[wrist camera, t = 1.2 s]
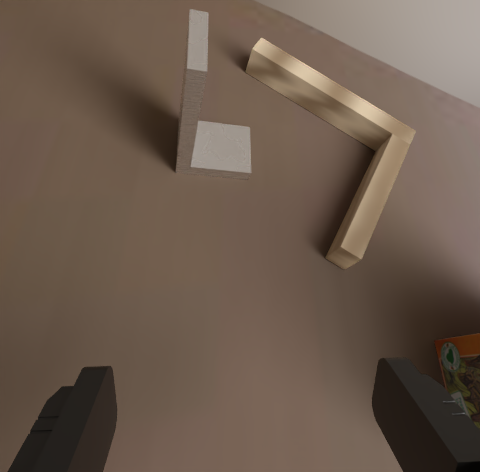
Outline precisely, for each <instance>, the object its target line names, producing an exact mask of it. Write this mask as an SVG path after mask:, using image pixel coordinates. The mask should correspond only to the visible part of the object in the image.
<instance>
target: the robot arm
mask: <svg viewBox="0 0 480 472" xmlns="http://www.w3.org/2000/svg"><path fill="white" fill-rule="evenodd" d="M372 408H373V413H374V416H375V419H376V421H377V423H378V425H379V427H380V429H381V431H382V433H383V434H384V436H385V438H386V440H387V442H388V444H389V446H390V448H391V449H392V451H393V453H394V455H395V457H396V459H397V461H398V463H399V465H400V466H401V468H402V470H403V472H480V430H479V428H478V427H477V426H476V425H475V424H474V422H473V421H472V420H471V419H470V418H469V416H468V415H465V412H464V410H463V409H462V408H461V407H460V406H459V404H458V403H455V400H454V398H453V397H452V396H451V395H450V394H449V392H448V391H447V390H446V389H445V388H444V386H442V385H441V384H440V383H438V382H437V381H435V380H434V379H432V378H431V377H430V376H428V375H427V374H420V372H419V371H418V370H417V369H416V367H415V366H414V365H413V364H412V362H411V361H410V360H409V359H408V358H406V357H400V358H381V359H380V360H379V362H378V366H377V372H376V378H375V384H374V390H373V396H372ZM116 421H117V404H116V394H115V385H114V376H113V370H112V367H111V366H98V367H84V368H83V369H82V370H81V372H80V374H79V376H78V378H77V380H76V383H75V385H74V386H65V387H61V388H60V389H59V390H58V391H57V392H56V393H55V394H54V395H53V396H52V397H51V398H49V399H48V400H47V402H46V404H45V405H44V407H43V409H42V411H41V413H40V414H39V416H38V420H36V422H35V423H34V425H33V427H32V429H31V431H30V434H28V436H27V438H26V440H25V441H24V443H23V445H22V447H21V449H20V450H19V452H18V454H17V456H16V458H15V459H14V461H13V463H12V465H11V467H10V468H9V470H8V472H103V470H104V466H105V463H106V460H107V456H108V453H109V449H110V446H111V443H112V439H113V436H114V432H115V428H116Z"/></svg>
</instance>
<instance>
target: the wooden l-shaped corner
mask: <svg viewBox="0 0 480 472" xmlns="http://www.w3.org/2000/svg"><path fill="white" fill-rule="evenodd" d="M245 72H246V73H247V74H249V75H251V76H252V77H254V78H256V79H257V80H259V81H260V82H262V83H264V84H265V85H267V86H269V87H270V88H272V89H274V90H275V91H277V92H279V93H280V94H282V95H284V96H285V97H287V98H289V99H290V100H292V101H293V102H295V103H297V104H298V105H300V106H302V107H303V108H305V109H307V110H308V111H310V112H312V113H313V114H315V115H317V116H318V117H320V118H322V119H323V120H325V121H326V122H328V123H330V124H331V125H333V126H335V127H336V128H338V129H340V130H341V131H343V132H345V133H346V134H348V135H350V136H351V137H353V138H355V139H356V140H358V141H359V142H361V143H363V144H364V145H366V146H368V147H369V148H371V149H373V150H374V151H376V152H375V154H374V156H373V158H372V160H371V163H370V165H369V167H368V169H367V171H366V173H365V175H364V177H363V179H362V182H361V184H360V186H359V188H358V190H357V192H356V194H355V196H354V198H353V200H352V203H351V205H350V207H349V209H348V211H347V213H346V215H345V217H344V219H343V221H342V224H341V226H340V228H339V230H338V232H337V234H336V236H335V238H334V240H333V243H332V245H331V247H330V249H329V251H328V253H327V255H326V257H325V258H326V259H327V260H329V261H331V262H332V263H334V264H335V265H337V266H339V267H340V268H342V269H344V270H345V269H347V268H348V267H350V266H352V265H353V264H355V263H357V262H358V261H360V260H362V257H363V255H364V253H365V250H366V248H367V246H368V243H369V241H370V238H371V236H372V234H373V231H374V229H375V227H376V224H377V222H378V219H379V217H380V215H381V212H382V210H383V208H384V205H385V203H386V201H387V198H388V196H389V193H390V191H391V189H392V186H393V184H394V182H395V179H396V177H397V175H398V172H399V170H400V167H401V165H402V163H403V160H404V158H405V156H406V153H407V151H408V149H409V146H410V144H411V141H412V139H413V137H414V134H415V132H416V131H415V130H413V129H412V128H410V127H408V126H407V125H405V124H403V123H402V122H400V121H398V120H397V119H395V118H393V117H392V116H390V115H388V114H387V113H385V112H384V111H382V110H380V109H379V108H377V107H375V106H374V105H372V104H370V103H369V102H367V101H365V100H364V99H362V98H360V97H359V96H357V95H355V94H354V93H352V92H350V91H349V90H347V89H345V88H344V87H342V86H341V85H339V84H337V83H336V82H334V81H332V80H331V79H329V78H327V77H326V76H324V75H322V74H321V73H319V72H317V71H316V70H314V69H312V68H311V67H309V66H307V65H306V64H304V63H303V62H301V61H299V60H298V59H296V58H294V57H293V56H291V55H289V54H288V53H286V52H284V51H283V50H281V49H279V48H278V47H276V46H274V45H273V44H271V43H269V42H268V41H266V40H264V39H263V38H261V39H260V40H259V41H258V42H257V44H256V45H255V46H254V47H253V49H252V51H251V55H250V58H249V61H248V65H247V68H246V71H245Z"/></svg>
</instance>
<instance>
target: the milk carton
mask: <svg viewBox="0 0 480 472" xmlns="http://www.w3.org/2000/svg"><path fill="white" fill-rule="evenodd" d="M434 342H435V346H436V350H437V355H438V359H439V364H440V368H441V372H442V377H443V381H444V386H445V389H446V390H447V391H448V392H449V394H450V395H451V396H452V397H453V398H454V400H455V403H458V404H459V406H460V407H461V408H462V409H463V410H464V412H465V415H468V416H469V418H470V419H471V420H472V421H473V422H474V424H475V425H476V426H477V427H478V428H479V430H480V333H477V334H471V335H465V336H458V337H452V338H446V339H439V340H434Z"/></svg>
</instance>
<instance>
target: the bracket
mask: <svg viewBox="0 0 480 472" xmlns="http://www.w3.org/2000/svg"><path fill="white" fill-rule="evenodd" d="M207 54H208V12H203V11H197V10H192V9H190V13H189V23H188V33H187V43H186V54H185V64H184V74H183V84H182V94H181V104H180V114H179V124H178V140H177V158H176V173H184V174H194V175H204V176H214V177H224V178H235V179H245V180H248V179H249V177H250V175H251V151H250V127H245V126H237V125H229V124H221V123H214V122H206V121H199V115H200V110H201V104H202V98H203V92H204V87H205V81H206V75H207Z"/></svg>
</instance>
